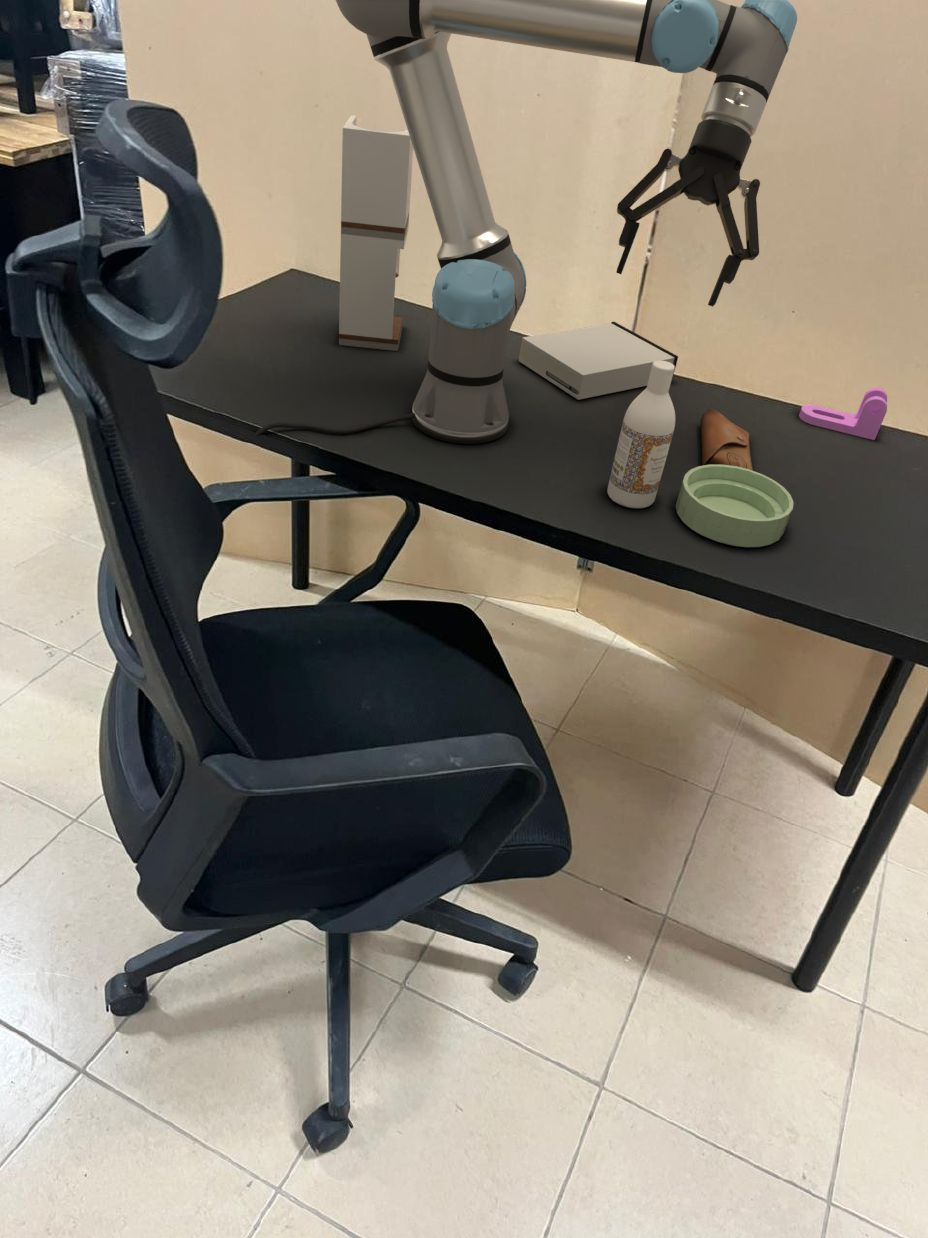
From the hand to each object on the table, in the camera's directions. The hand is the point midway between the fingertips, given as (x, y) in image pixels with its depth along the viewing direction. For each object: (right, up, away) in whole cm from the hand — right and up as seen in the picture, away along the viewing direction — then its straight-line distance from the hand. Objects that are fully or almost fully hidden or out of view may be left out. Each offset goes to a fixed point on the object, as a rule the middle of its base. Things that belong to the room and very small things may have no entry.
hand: (665, 288), depth 125 cm
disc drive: (-4, -1, +39) cm, 40 cm away
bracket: (+37, -12, +32) cm, 51 cm away
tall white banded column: (-45, +6, +42) cm, 62 cm away
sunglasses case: (+14, -20, +18) cm, 30 cm away
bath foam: (-4, -29, +4) cm, 29 cm away
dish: (+10, -32, +2) cm, 33 cm away
